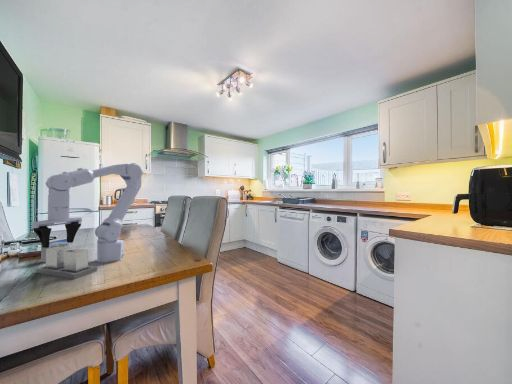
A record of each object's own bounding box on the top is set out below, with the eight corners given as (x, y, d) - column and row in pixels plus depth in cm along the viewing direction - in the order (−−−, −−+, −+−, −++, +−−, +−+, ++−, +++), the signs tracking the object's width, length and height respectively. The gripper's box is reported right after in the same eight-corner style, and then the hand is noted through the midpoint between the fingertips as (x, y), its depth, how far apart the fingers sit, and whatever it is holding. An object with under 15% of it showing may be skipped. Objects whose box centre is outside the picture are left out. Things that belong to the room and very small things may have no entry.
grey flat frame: (35, 275, 74) (36, 268, 74) (60, 268, 81) (60, 261, 81) (74, 282, 69) (74, 274, 69) (96, 273, 76) (97, 266, 76)
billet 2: (64, 274, 73) (64, 251, 73) (76, 270, 77) (77, 248, 77) (75, 276, 71) (76, 252, 71) (88, 272, 75) (88, 249, 75)
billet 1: (45, 271, 75) (46, 249, 75) (58, 267, 79) (59, 246, 79) (56, 273, 74) (57, 250, 74) (69, 269, 78) (69, 247, 78)
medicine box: (48, 262, 87) (49, 242, 87) (40, 262, 88) (40, 241, 88) (69, 257, 95) (69, 238, 95) (61, 256, 96) (61, 237, 96)
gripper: (72, 206, 85) (72, 239, 84) (25, 208, 71) (24, 249, 70) (85, 206, 83) (85, 241, 83) (39, 209, 69) (39, 250, 69)
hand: (58, 244), depth 76 cm, fingers open, 7 cm apart
